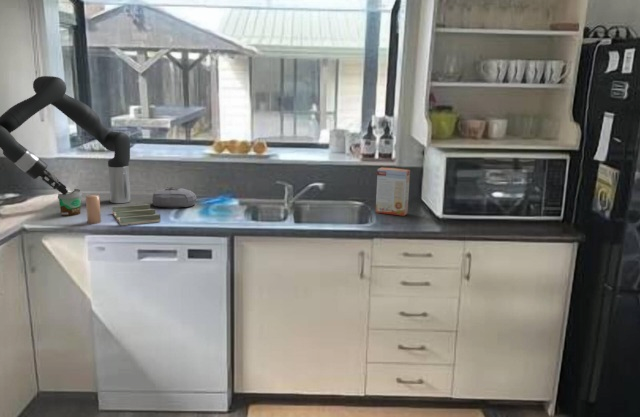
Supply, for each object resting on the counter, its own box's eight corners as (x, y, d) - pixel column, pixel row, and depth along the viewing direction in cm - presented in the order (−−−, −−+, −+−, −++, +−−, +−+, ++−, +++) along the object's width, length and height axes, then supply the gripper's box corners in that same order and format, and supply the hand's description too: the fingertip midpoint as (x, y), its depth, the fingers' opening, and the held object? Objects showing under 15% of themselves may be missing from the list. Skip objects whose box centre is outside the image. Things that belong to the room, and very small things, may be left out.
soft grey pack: (149, 208, 262) (193, 209, 262) (149, 190, 260) (193, 191, 260) (158, 201, 277) (199, 202, 277) (157, 184, 275) (199, 185, 275)
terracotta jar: (86, 221, 237) (85, 195, 234) (100, 219, 239) (98, 194, 237) (88, 224, 232) (86, 197, 230) (101, 222, 235) (100, 196, 232)
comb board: (112, 213, 250) (112, 207, 249) (149, 210, 257) (149, 204, 256) (120, 225, 232) (120, 218, 231) (160, 221, 239) (160, 214, 238)
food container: (72, 218, 241) (70, 194, 239) (59, 216, 242) (57, 194, 240) (89, 211, 253) (87, 189, 250) (76, 210, 254) (75, 188, 252)
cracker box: (407, 213, 264) (410, 169, 259) (404, 216, 259) (407, 171, 254) (379, 210, 270) (381, 166, 265) (375, 212, 265) (377, 168, 260)
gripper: (38, 159, 215) (73, 187, 222) (37, 154, 227) (70, 181, 235) (24, 174, 213) (60, 201, 221) (23, 168, 226) (57, 194, 233)
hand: (65, 191), depth 228 cm, fingers open, 8 cm apart
